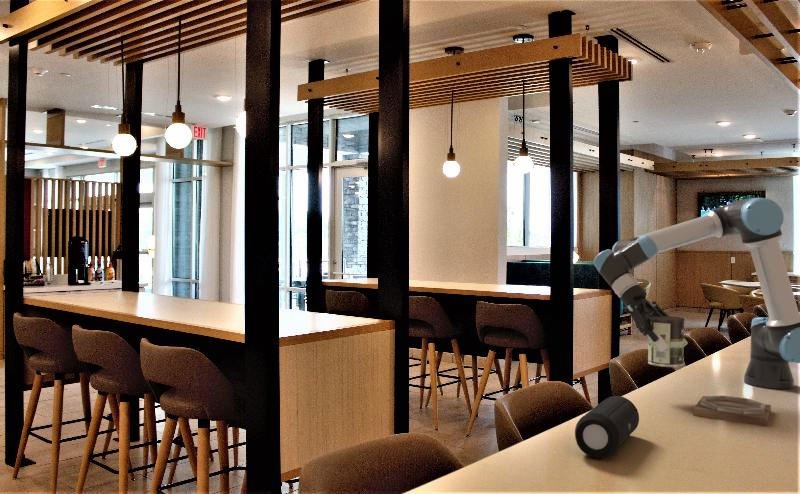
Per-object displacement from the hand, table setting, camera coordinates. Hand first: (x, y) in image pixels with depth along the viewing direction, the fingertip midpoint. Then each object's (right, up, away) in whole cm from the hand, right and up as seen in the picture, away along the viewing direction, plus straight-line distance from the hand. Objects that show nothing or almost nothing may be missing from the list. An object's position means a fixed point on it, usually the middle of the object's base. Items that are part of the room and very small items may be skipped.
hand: (675, 347), depth 207 cm
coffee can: (-2, -6, +3) cm, 6 cm away
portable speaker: (-34, -17, -45) cm, 59 cm away
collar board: (+12, -17, -11) cm, 24 cm away
